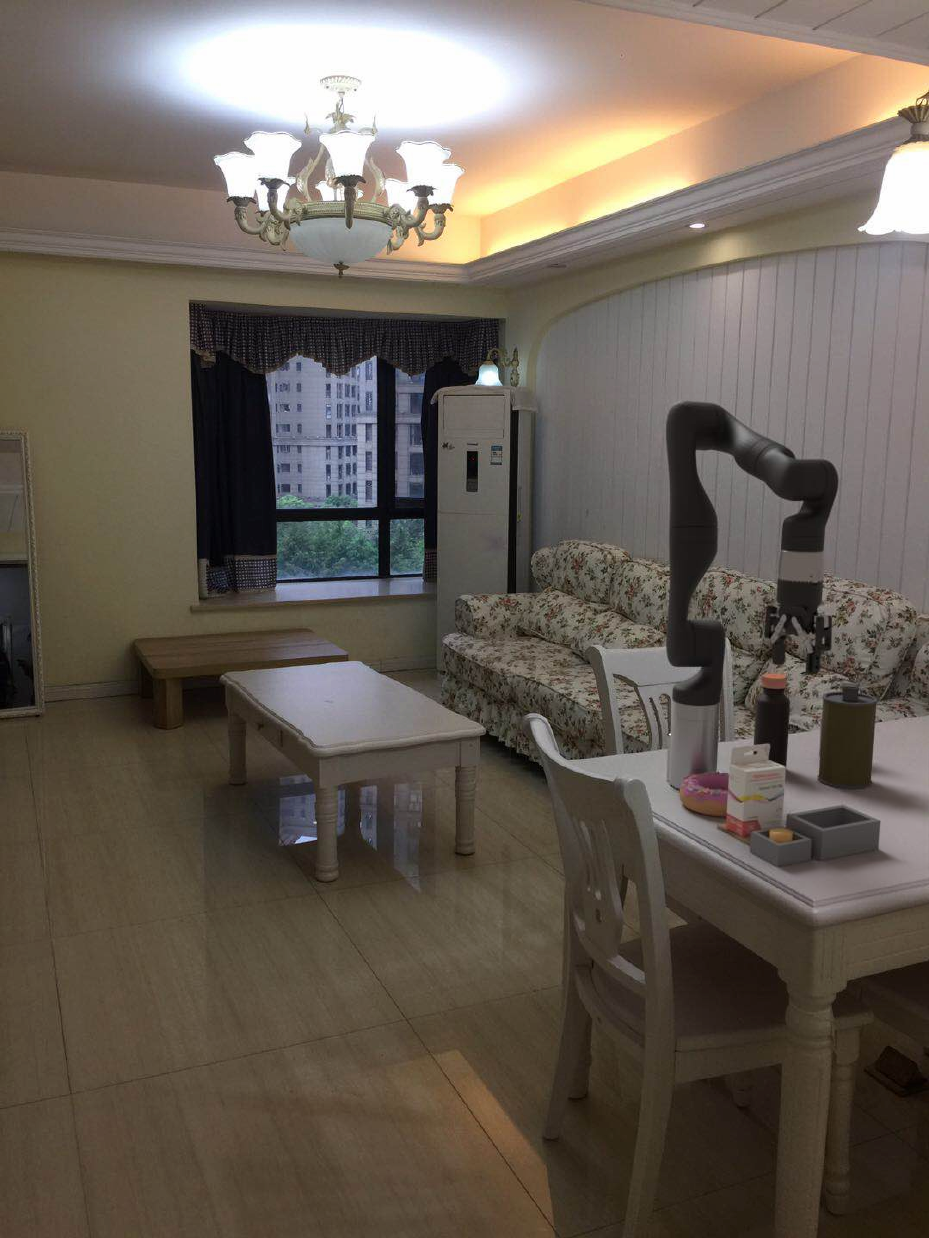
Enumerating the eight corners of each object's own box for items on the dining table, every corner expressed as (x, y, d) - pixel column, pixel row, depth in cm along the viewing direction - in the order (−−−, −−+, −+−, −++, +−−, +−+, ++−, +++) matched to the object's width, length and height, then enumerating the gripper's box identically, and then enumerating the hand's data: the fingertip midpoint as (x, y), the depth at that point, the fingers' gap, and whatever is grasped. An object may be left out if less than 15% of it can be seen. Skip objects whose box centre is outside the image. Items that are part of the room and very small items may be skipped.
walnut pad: (717, 827, 183) (717, 824, 183) (757, 820, 186) (757, 817, 186) (750, 845, 175) (750, 842, 175) (792, 837, 178) (792, 834, 178)
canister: (872, 791, 203) (879, 692, 200) (816, 785, 206) (822, 687, 203) (871, 775, 213) (878, 680, 210) (818, 770, 216) (823, 676, 213)
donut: (770, 818, 189) (771, 791, 188) (695, 821, 186) (696, 795, 186) (738, 792, 203) (739, 767, 202) (668, 795, 200) (669, 770, 200)
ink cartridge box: (742, 838, 176) (747, 754, 174) (725, 828, 181) (728, 747, 179) (783, 831, 180) (788, 749, 177) (764, 821, 184) (769, 741, 182)
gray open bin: (784, 842, 176) (786, 814, 175) (841, 832, 181) (842, 804, 180) (820, 860, 168) (822, 831, 168) (878, 849, 174) (880, 820, 173)
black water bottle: (793, 770, 216) (798, 677, 213) (771, 776, 212) (776, 681, 209) (766, 762, 221) (771, 671, 218) (745, 767, 218) (750, 674, 214)
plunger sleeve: (749, 851, 172) (750, 831, 172) (781, 845, 175) (783, 825, 174) (777, 866, 166) (778, 845, 165) (810, 859, 169) (811, 839, 168)
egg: (763, 850, 171) (765, 830, 171) (781, 847, 173) (782, 826, 172) (778, 858, 168) (780, 837, 167) (796, 854, 169) (797, 834, 169)
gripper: (755, 572, 182) (751, 662, 185) (812, 583, 170) (806, 679, 172) (789, 571, 185) (784, 659, 188) (847, 580, 173) (841, 675, 175)
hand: (794, 669), depth 180 cm, fingers open, 8 cm apart
